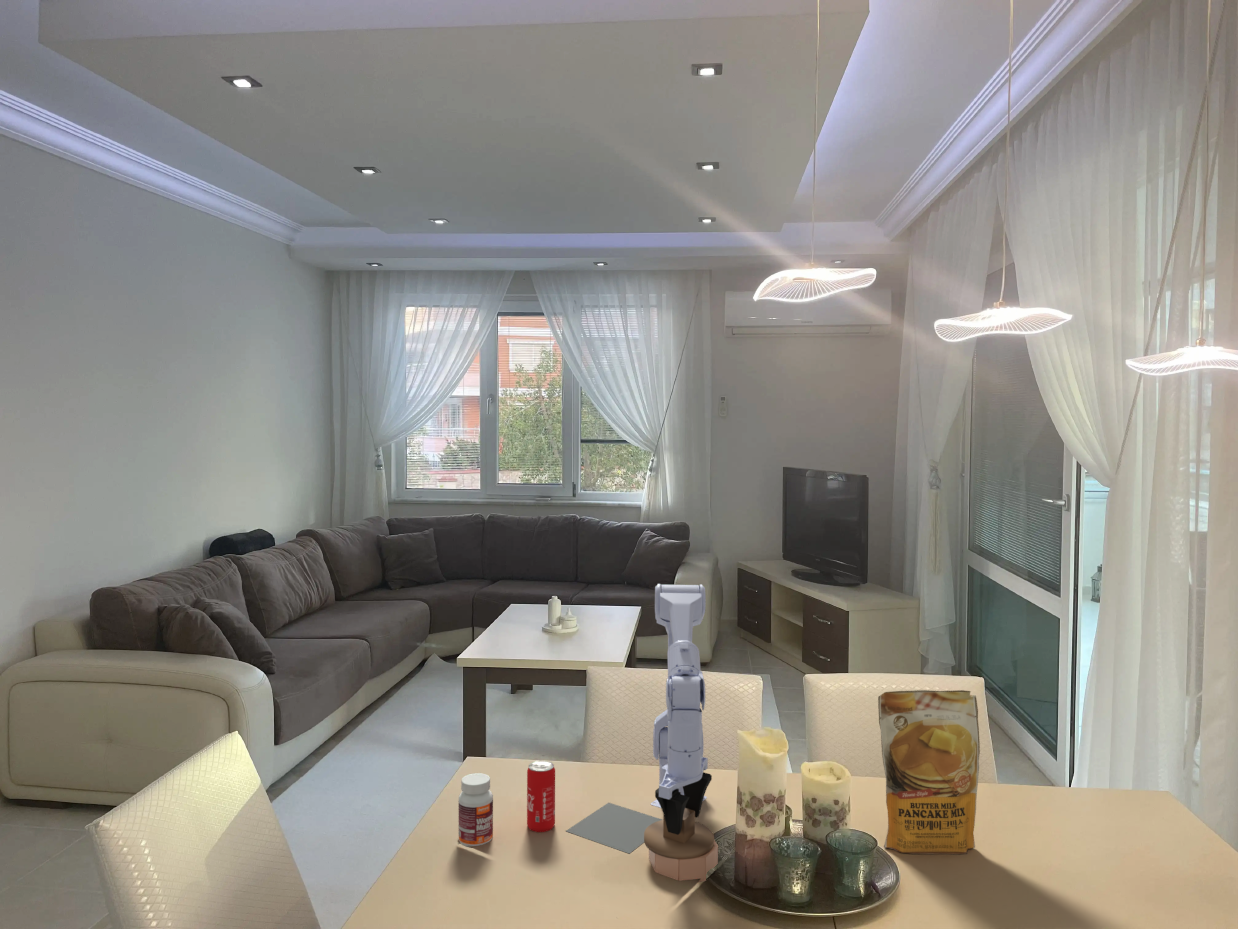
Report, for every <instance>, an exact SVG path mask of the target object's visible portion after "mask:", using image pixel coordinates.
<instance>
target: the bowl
mask: <svg viewBox="0 0 1238 929" xmlns="http://www.w3.org/2000/svg"><path fill="white" fill-rule="evenodd" d="M718 855H719V845H718V844H717V842H716V840H715V839H714V846H713V848H712V850H711V851H710V852H709V853H707V854H705V855H703V856H700V857H697V858H692V859H672V858H667V857H663V856H660V855H658V854H655V853H654V852H652V851H651V850H649V849H648V860H649V863H650V864H651V866H652V869H653V872H654V873H656V874H659V875H661V876H664V877H667V878H671V879H673V880H676V881H678V882H680V881H681V882H682V881H689V880H698V881H697V883H700V882H706V881H707V880H706V874H707V872H708V871H709V870H710V869H712V868H714V867H715V866H716V865H717V864H718V863H719V858H718V857H719V856H718Z"/></svg>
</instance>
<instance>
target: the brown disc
mask: <svg viewBox="0 0 1238 929" xmlns="http://www.w3.org/2000/svg"><path fill="white" fill-rule="evenodd" d="M714 840H715V835H714V832H713V831H712V829H710V828H709V827H708V826H707V825H705V824H703V823H701V822H699V821H696V817H695V811H694V810H690V809H687V808H685V810H684V814H683V821H682V829H681V832H680V834H679V835H677V834H673V833H670V832H668V830H667V826H666V822H665V817H664V814H663V818H662V820H660V821H657V822H655V823H653V824H651V825H649V826H648V827H647V828H646V830H645V832H644V843H643V844H644V846H645V847H646V848H647V849H648V851H649V850H651V851H652V852H654V853H655V854H658V855H660V856H663V857H667V858H672V859H692V858H697V857H700V856H703V855H705V854H707V853H709V852H710V851H711V850H712V848H713V846H714Z"/></svg>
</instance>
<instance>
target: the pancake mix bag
mask: <svg viewBox="0 0 1238 929" xmlns="http://www.w3.org/2000/svg"><path fill="white" fill-rule="evenodd" d="M971 692H972V691H970V690H964V689H962V690H960V689H959V690H927V689H925V690H923V689H922V690H898V691H896V690H895V691H894V690H893V691H885V692H883V693H882V694H880V695H879V696H878V697H877V698H878V700H877V702H878V703H877V704H878V723H879V728H880V738H881V739H880V741H881V744H880V745H881V756H882V757H881V758H882V763H883V769H884V774H885V803H886V809H887V820H888V821H887V824H888V825H887V833H886V838H885V841H884V845H883V848H886V849H892V850H893V851H896V852H898V853H902V854H912V855H913V854H914V855H915V854H917V855H920V854H921V855H922V854H923V855H941V854H945V855H960V854H963V855H964V854H968V851H969V850H972V849H974V848H975V849H976V842H975V837H974V836H975V835H974V832H975V826H976V825H975V823H976V815H977V814H976V813H977V795H978V785H979V773H980V772H979V771H980V762H979V761H980V754H981V753H980V752H981V747H980V746H981V745H980V744H981V743H980V727H979V726H980V725H979V708H978V700H977V695H972V694H971Z"/></svg>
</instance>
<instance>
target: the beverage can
mask: <svg viewBox="0 0 1238 929" xmlns="http://www.w3.org/2000/svg"><path fill="white" fill-rule="evenodd" d="M526 777H527V778H526V783H527V784H526V788H527V789H526V825H527V827H528V829H529V830H530V831H532V832H536V833H545V832H549V831H551V830H552V829H553V828H554V826H555V824H556V768H555V764H554V763H553V762H552V761H548V760H535V761H532V762H531V763H529V764H528V768H527V771H526Z"/></svg>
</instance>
